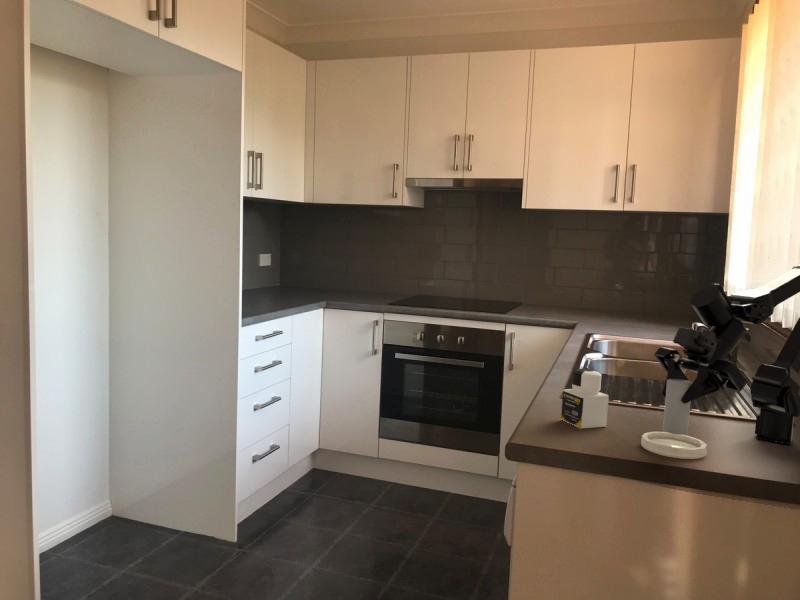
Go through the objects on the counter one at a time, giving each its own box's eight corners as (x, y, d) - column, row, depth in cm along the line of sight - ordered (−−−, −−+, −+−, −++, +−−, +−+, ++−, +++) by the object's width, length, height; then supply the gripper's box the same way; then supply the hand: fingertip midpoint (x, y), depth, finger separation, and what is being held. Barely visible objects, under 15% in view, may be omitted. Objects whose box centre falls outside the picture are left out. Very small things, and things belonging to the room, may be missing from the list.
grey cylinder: (685, 429, 134) (689, 380, 134) (689, 435, 130) (694, 385, 129) (661, 426, 135) (665, 378, 135) (664, 432, 131) (669, 382, 130)
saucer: (710, 448, 135) (711, 439, 135) (700, 463, 125) (701, 454, 125) (648, 436, 141) (649, 428, 141) (634, 449, 131) (635, 440, 131)
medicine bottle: (560, 420, 151) (564, 367, 150) (585, 418, 153) (590, 366, 152) (580, 429, 144) (584, 374, 143) (606, 427, 147) (611, 373, 146)
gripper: (664, 308, 141) (619, 362, 137) (741, 320, 124) (691, 381, 120) (689, 345, 145) (645, 398, 141) (767, 361, 127) (719, 421, 124)
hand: (672, 398), depth 132 cm, fingers closed on grey cylinder, 5 cm apart
